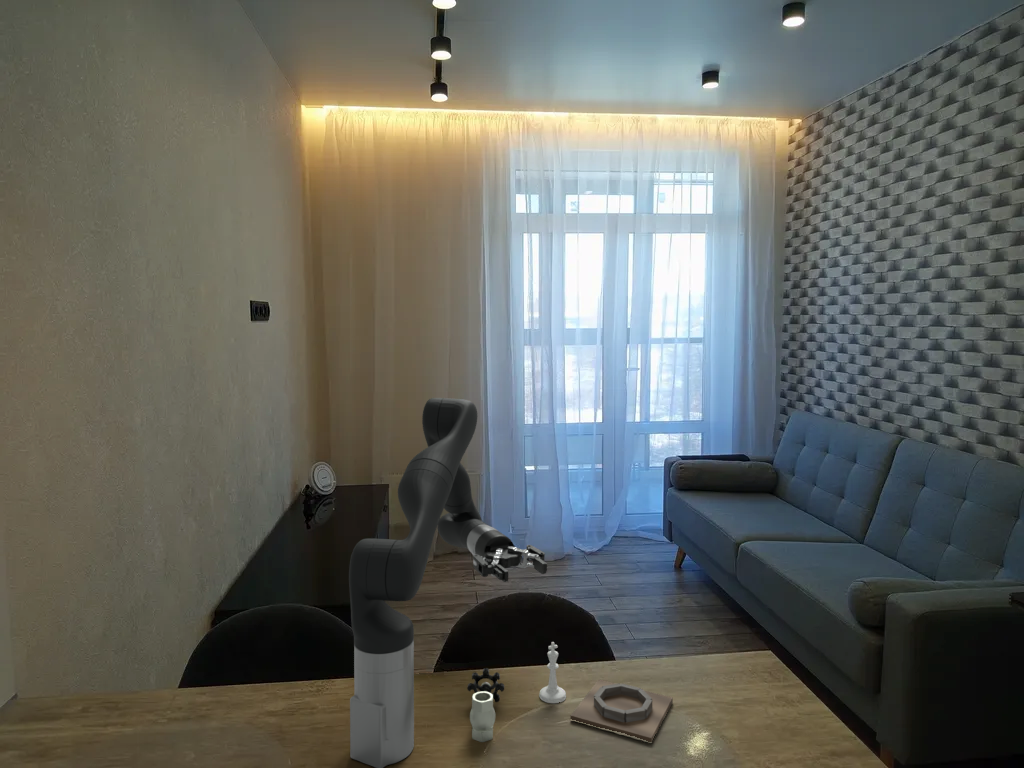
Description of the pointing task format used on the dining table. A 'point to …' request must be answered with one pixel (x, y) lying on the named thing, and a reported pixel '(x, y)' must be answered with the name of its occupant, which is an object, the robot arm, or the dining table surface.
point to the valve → (484, 705)
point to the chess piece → (552, 680)
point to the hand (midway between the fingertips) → (526, 573)
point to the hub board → (623, 709)
